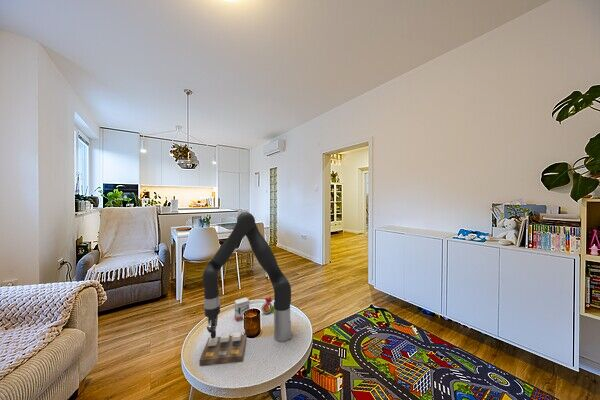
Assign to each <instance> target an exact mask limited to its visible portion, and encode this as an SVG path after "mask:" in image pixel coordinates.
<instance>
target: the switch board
mask: <svg viewBox="0 0 600 400" xmlns="http://www.w3.org/2000/svg"><path fill="white" fill-rule="evenodd" d="M217 337H218V342H217V345H216V346H208V342H209V339H210V337H208V338H207V340H206V343H205V345H204V348H203V350H202V353H201V355H200V357H199V360H198V363H199V367H202V366H203V367H205V366H211V365H212V366H215V365H223V364H225V365H226V364H232V363H243V361H244V357H245V356H244V355H245V349H246V343H247V334H241V340H240V341H232V337H233V335H230V338H229V341H228V342H220V338H221V336H217Z"/></svg>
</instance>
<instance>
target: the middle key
mask: <svg viewBox="0 0 600 400" xmlns="http://www.w3.org/2000/svg"><path fill="white" fill-rule="evenodd" d="M230 336H231V333H230V332H224V333H221V336H220V337H221V338H220V342H228V341H229V338H230Z"/></svg>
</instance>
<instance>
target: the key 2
mask: <svg viewBox="0 0 600 400" xmlns="http://www.w3.org/2000/svg"><path fill="white" fill-rule="evenodd" d="M241 335H242V331H236V332H233V334H232V336H233V337H232V341H240V340H241Z"/></svg>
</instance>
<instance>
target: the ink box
mask: <svg viewBox="0 0 600 400" xmlns="http://www.w3.org/2000/svg"><path fill="white" fill-rule="evenodd" d="M247 310H250V299H249V297H242V298H238V299H236V300H234V319H235V321H236V322H241V321H243V320H244V319H243V315H244V312H245V311H247Z"/></svg>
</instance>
